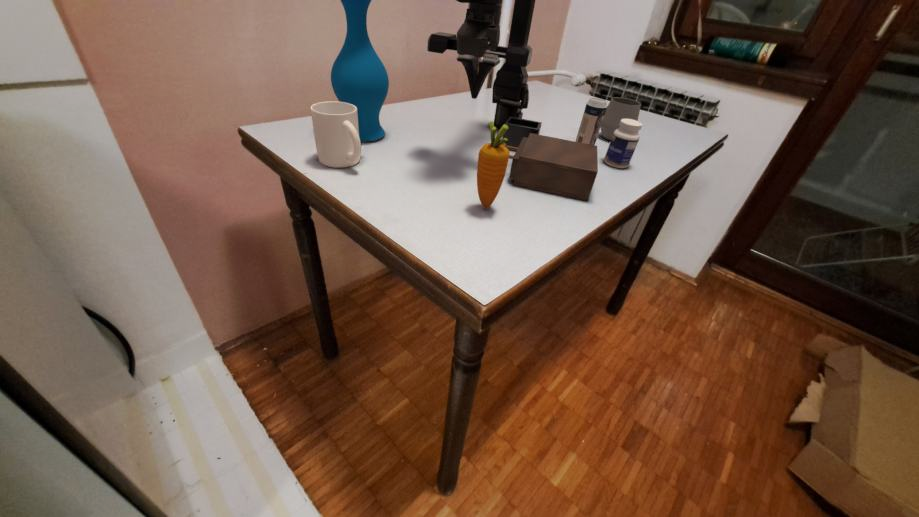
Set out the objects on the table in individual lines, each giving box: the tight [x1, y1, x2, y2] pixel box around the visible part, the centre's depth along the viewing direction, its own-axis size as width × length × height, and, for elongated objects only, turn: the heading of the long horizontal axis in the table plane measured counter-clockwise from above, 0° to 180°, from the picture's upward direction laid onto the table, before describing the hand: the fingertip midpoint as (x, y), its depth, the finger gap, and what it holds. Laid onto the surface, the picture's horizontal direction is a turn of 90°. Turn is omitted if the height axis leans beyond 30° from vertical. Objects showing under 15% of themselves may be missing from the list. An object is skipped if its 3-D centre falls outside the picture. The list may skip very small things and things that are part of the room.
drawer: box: [502, 137, 527, 181], centre depth 76 cm, size 18×13×4 cm
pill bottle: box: [603, 119, 643, 169], centre depth 84 cm, size 6×6×10 cm
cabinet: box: [513, 133, 599, 202], centre depth 75 cm, size 15×15×6 cm
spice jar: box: [574, 97, 608, 146], centre depth 89 cm, size 5×5×12 cm
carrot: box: [476, 120, 511, 210], centre depth 59 cm, size 5×5×15 cm
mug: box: [310, 100, 362, 169], centre depth 70 cm, size 12×8×10 cm
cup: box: [600, 96, 642, 142], centre depth 99 cm, size 10×9×10 cm
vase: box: [330, 0, 390, 143], centre depth 77 cm, size 12×13×28 cm
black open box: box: [501, 117, 543, 152], centre depth 88 cm, size 8×6×6 cm
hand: (474, 98), depth 72 cm, fingers closed
